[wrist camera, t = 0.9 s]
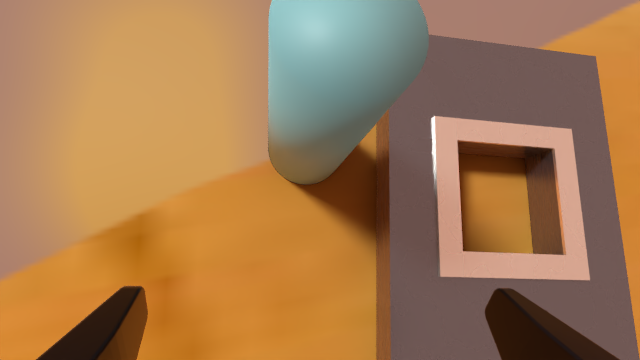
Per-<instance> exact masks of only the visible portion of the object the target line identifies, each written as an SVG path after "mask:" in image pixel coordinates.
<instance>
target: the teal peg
mask: <svg viewBox="0 0 640 360" xmlns="http://www.w3.org/2000/svg"><path fill="white" fill-rule="evenodd" d="M428 44H429V35H428V27H427V22H426V19H425V16H424V13H423V11H422V8H421V6H420V4H419V3H418V1H417V0H272V3H271V6H270V12H269V89H268V92H269V93H268V94H269V99H268V103H269V105H268V152H269V157H270V160H271V163H272V165H273V166H274V168H275V169H276V170H277V172H278V173H279V174H280V175H281V176H283V177H284V178H285V179H287V180H289V181H291V182H294V183H297V184H303V185H309V184H315V183H319V182H321V181H323V180H325V179H327V178H328V177H329V176H330V175H331V174H332V173H333V172H334V171H335V170H336V169H337V168H338V167H339V165H340V164H341V163H342V162H343V161H344V160H345V159H346V157H347V156H348V155H349V154H350V153H351V152H352V151H353V149H354V148H355V147H356V146H357V145H358V144H359V142H360V141H361V140H362V139H363V138H364V137H365V136H366V134H367V133H368V132H369V131H370V130H371V129H372V128H373V126H374V125H375V124H376V123H377V122H378V121H379V120H380V118H381V117H382V116H383V115H384V114H385V113H386V112H387V110H388V109H389V108H390V107H391V106H392V105H393V104H394V102H395V101H396V100H397V99H398V98H399V97H400V96H401V94H402V93H403V92H404V91H405V90H406V89H407V87H408V86H409V85H410V84H411V83H412V82H413V81H414V79H415V78H416V77H417V75H418V74H419V72H420V71H421V69H422V67H423V65H424V62H425V59H426V56H427V51H428Z"/></svg>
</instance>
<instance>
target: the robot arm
mask: <svg viewBox="0 0 640 360" xmlns="http://www.w3.org/2000/svg"><path fill="white" fill-rule="evenodd" d="M147 315H148V310H147V303H146V297H145V291H144V288H143V287H141V286H124V287H122V288H120V289H119V290H118V291H117V292H116V293H114V294H113V295H112V296H111V297H110V298H109V299H107V300H106V301H105V302H104V303H103V304H101V305H100V306H99V307H98V308H97V309H95V310H94V311H93V312H92V313H91V314H90V315H88V316H87V317H86V318H85V319H84V320H82V321H81V322H80V323H79V324H78V325H77V326H75V327H74V328H73V329H72V330H71V331H69V332H68V333H67V334H66V335H65V336H63V337H62V338H61V339H60V340H59V341H58V342H56V343H55V344H54V345H53V346H52V347H50V348H49V349H48V350H47V351H46V352H45V353H43V354H42V355H41V356H40V357H39V358H37V359H36V360H136V359H137V355H138V352H139V348H140V344H141V340H142V337H143V333H144V329H145V325H146V321H147ZM485 318H486V320H487V323H488V326H489V328H490V331H491V334H492V336H493V339H494V341H495V344H496V347H497V349H498V352H499V355H500V357H501V360H620V359H618V358H617V357H615V356H614V355H612V354H611V353H609V352H608V351H606V350H605V349H603V348H602V347H600V346H599V345H597V344H596V343H594V342H593V341H591V340H590V339H588V338H587V337H585V336H584V335H582V334H581V333H579V332H578V331H576V330H574V329H573V328H571V327H570V326H568V325H567V324H565V323H564V322H562V321H561V320H559V319H558V318H556V317H555V316H553V315H552V314H550V313H549V312H547V311H546V310H544V309H543V308H541V307H540V306H538V305H537V304H535V303H534V302H532V301H531V300H529V299H528V298H526V297H525V296H523V295H522V294H520V293H518V292H517V291H515V290H514V289H511V288H497V289H495V290H494V292H493V294H492V296H491V298H490V300H489V302H488V303H487V305H486V307H485Z"/></svg>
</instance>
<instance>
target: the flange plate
mask: <svg viewBox="0 0 640 360" xmlns="http://www.w3.org/2000/svg"><path fill="white" fill-rule="evenodd" d="M458 153H460V154H473V155H485V156H498V157H510V158H523V159H525V166H526V177H527V188H528V199H529V210H530V221H531V232H532V243H533V254H522V253H494V252H467V251H463V242H462V222H461V202H460V183H459V163H458ZM497 288H511V289H514V290H515V291H517V292H518V293H520V294H522V295H523V296H525V297H526V298H528V299H529V300H531V301H532V302H534V303H535V304H537V305H538V306H540V307H541V308H543V309H544V310H546V311H547V312H549V313H550V314H552V315H553V316H555V317H556V318H558V319H559V320H561V321H562V322H564V323H565V324H567V325H568V326H570V327H571V328H573V329H574V330H576V331H578V332H579V333H581V334H582V335H584V336H585V337H587V338H588V339H590V340H591V341H593V342H594V343H596V344H597V345H599V346H600V347H602V348H603V349H605V350H606V351H608V352H609V353H611V354H612V355H614V356H615V357H617V358H618V359H620V360H639V354H638V347H637V340H636V333H635V326H634V319H633V312H632V305H631V298H630V291H629V284H628V277H627V270H626V263H625V256H624V249H623V243H622V236H621V229H620V222H619V215H618V208H617V201H616V194H615V187H614V180H613V173H612V166H611V159H610V152H609V145H608V138H607V132H606V125H605V118H604V111H603V104H602V97H601V90H600V83H599V76H598V69H597V62H596V56H588V55H580V54H573V53H565V52H557V51H550V50H542V49H534V48H526V47H519V46H511V45H504V44H496V43H488V42H481V41H473V40H465V39H457V38H449V37H442V36H434V35H429V44H428V51H427V56H426V59H425V62H424V65H423V67H422V69H421V71H420V72H419V74H418V75H417V77H416V78H415V79H414V81H413V82H412V83H411V84H410V85H409V86H408V87H407V89H406V90H405V91H404V92H403V93H402V94H401V96H400V97H399V98H398V99H397V100H396V101H395V102H394V104H393V105H392V106H391V107H390V108H389V109H388V110H387V112H386V113H385V114H384V115H383V116H382V117H381V118H380V120H379V121H378V122H377V360H501V357H500V355H499V352H498V349H497V347H496V344H495V341H494V339H493V336H492V334H491V331H490V328H489V326H488V323H487V320H486V318H485V307H486V305H487V303H488V302H489V300H490V298H491V296H492V294H493V292H494V290H495V289H497Z"/></svg>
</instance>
